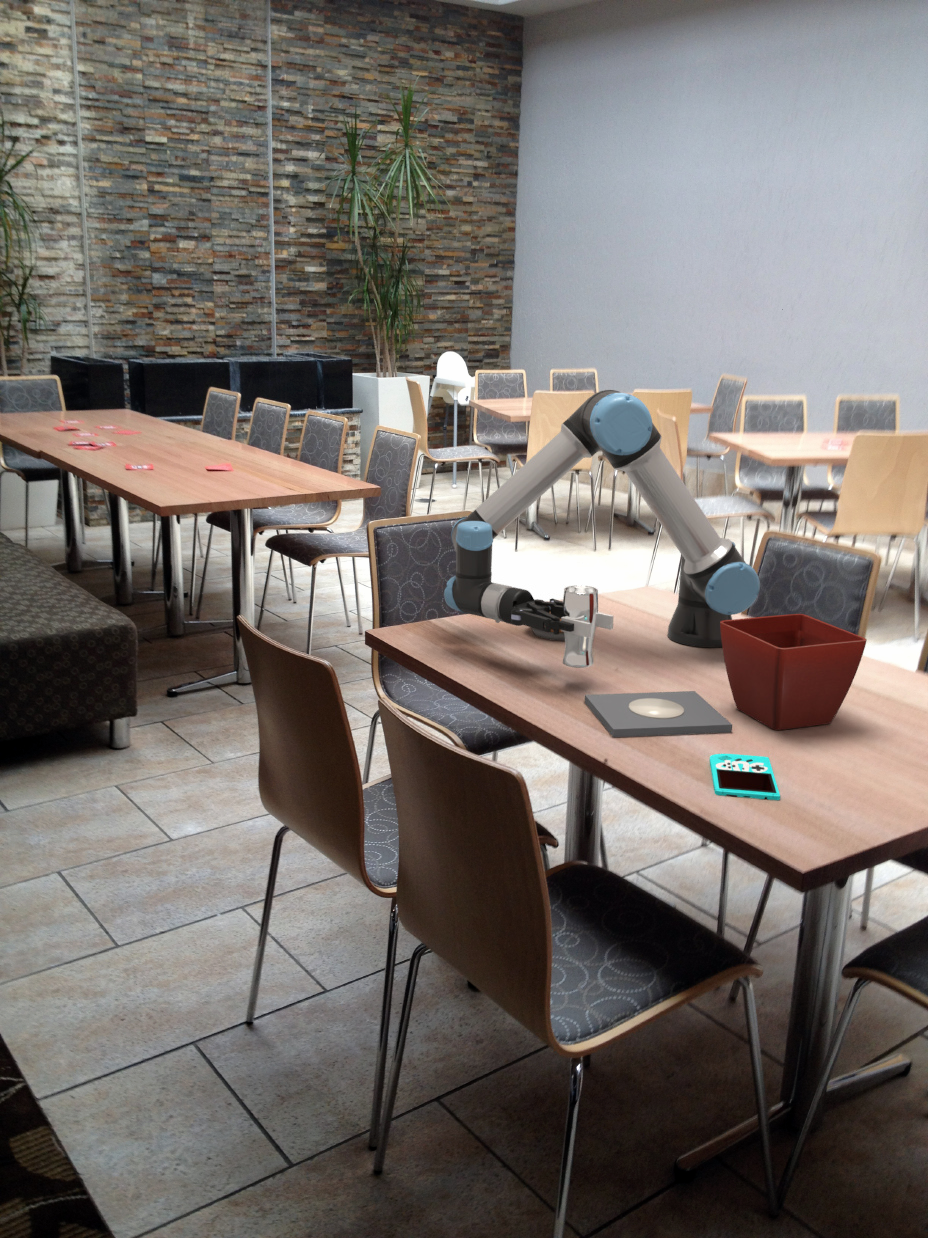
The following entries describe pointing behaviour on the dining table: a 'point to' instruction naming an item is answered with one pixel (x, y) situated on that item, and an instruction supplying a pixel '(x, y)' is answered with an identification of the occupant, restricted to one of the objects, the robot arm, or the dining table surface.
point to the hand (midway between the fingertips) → (600, 626)
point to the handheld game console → (743, 776)
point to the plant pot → (789, 668)
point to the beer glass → (584, 608)
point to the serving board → (656, 714)
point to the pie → (549, 634)
